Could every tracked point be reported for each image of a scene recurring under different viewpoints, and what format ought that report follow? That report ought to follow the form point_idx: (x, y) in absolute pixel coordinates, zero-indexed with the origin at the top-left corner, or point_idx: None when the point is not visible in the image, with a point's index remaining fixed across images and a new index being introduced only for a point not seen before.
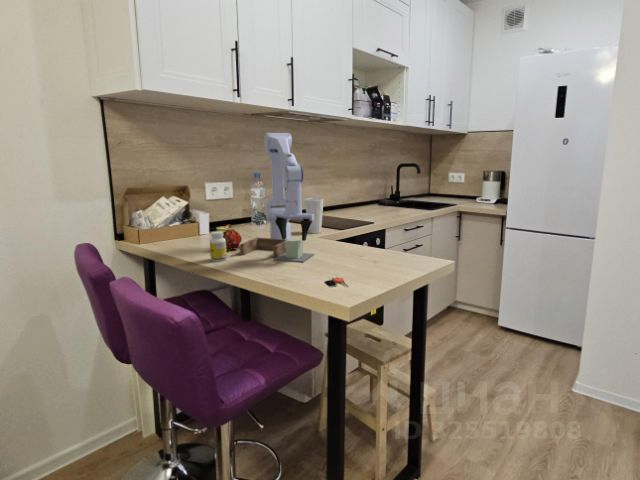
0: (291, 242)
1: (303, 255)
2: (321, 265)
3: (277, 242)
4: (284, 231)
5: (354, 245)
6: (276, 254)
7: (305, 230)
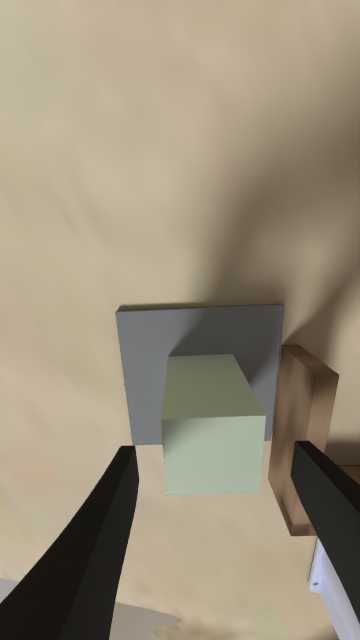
0: (213, 408)
1: None
2: (8, 292)
3: None
4: (336, 531)
5: None
6: (291, 353)
7: (47, 551)
